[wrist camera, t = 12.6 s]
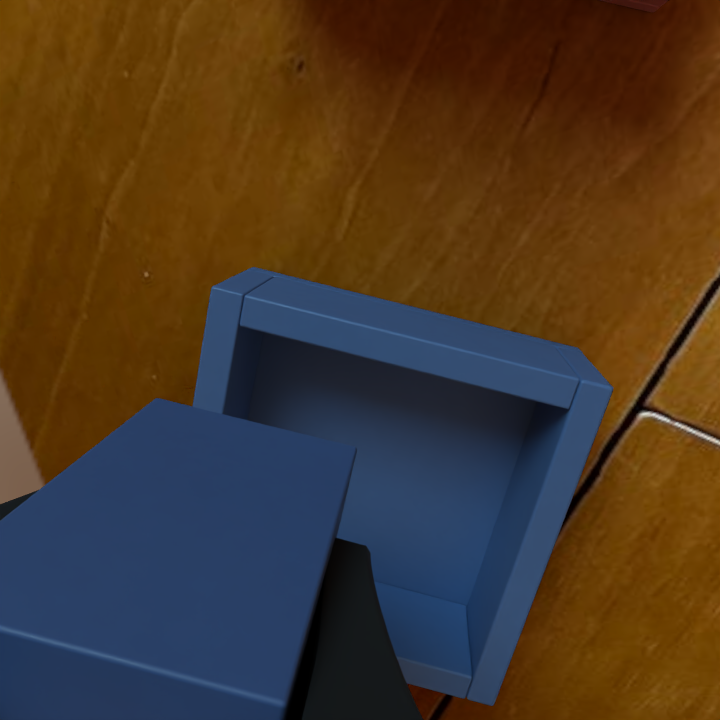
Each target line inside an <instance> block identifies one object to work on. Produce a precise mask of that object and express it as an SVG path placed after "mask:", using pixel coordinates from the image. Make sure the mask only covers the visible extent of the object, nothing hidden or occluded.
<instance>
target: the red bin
mask: <svg viewBox="0 0 720 720" xmlns="http://www.w3.org/2000/svg"><path fill="white" fill-rule="evenodd" d="M600 1H604V2H608V3H613V4H617V5H622V6H626V7H630V8H635V9H639V10H644V11H648V12H655V11H656V10H658V9H659V8H660V7H661V6H662V5H663V4H665V3H666V2H667V1H669V0H600Z"/></svg>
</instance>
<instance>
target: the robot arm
mask: <svg viewBox="0 0 720 720" xmlns="http://www.w3.org/2000/svg"><path fill="white" fill-rule="evenodd" d="M36 492H37V491H35V492H32V493H30V494H27V495H24V496H22V497H19V498H16V499H14V500H11V501H8V502H5V503H3V504H0V520H2V519H3V518H4V517H5V516H7V515H8V514H9V513H10V512H12V511H13V510H14V509H16V508H17V507H18V506H19V505H21V504H22V503H23V502H24V501H26V500H27V499H28V498H30V497H31V496H32V495H33V494H35V493H36ZM291 720H423V718H422V716H421V714H420V712H419V710H418V708H417V706H416V704H415V701H414V699H413V697H412V695H411V692H410V690H409V688H408V685H407V683H406V680H405V678H404V675H403V673H402V670H401V668H400V665H399V662H398V660H397V657H396V655H395V652H394V649H393V646H392V643H391V640H390V637H389V634H388V631H387V627H386V624H385V621H384V618H383V614H382V611H381V607H380V604H379V600H378V596H377V591H376V587H375V583H374V578H373V572H372V565H371V553H370V551H369V550H368V548H367V546H366V545H362V544H358V543H354V542H350V541H347V540H343V539H339V538H335V541H334V544H333V548H332V551H331V555H330V558H329V562H328V565H327V569H326V572H325V576H324V581H323V585H322V589H321V593H320V598H319V602H318V606H317V610H316V614H315V619H314V623H313V627H312V631H311V635H310V640H309V644H308V648H307V652H306V656H305V661H304V665H303V669H302V673H301V678H300V682H299V686H298V690H297V694H296V699H295V703H294V707H293V711H292V715H291Z"/></svg>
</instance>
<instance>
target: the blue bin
mask: <svg viewBox="0 0 720 720" xmlns="http://www.w3.org/2000/svg"><path fill="white" fill-rule="evenodd" d="M612 392H613V387H612V386H611V385H610V384H609V382H608V381H607V380H606V379H605V378H604V377H603V376H602V375H601V373H600V372H599V371H598V370H597V369H596V368H595V367H594V366H593V365H592V363H591V362H590V361H589V360H588V359H587V358H586V357H585V356H584V354H583V353H582V351H581V350H580V349H579V348H576V347H572V346H568V345H564V344H560V343H556V342H552V341H548V340H544V339H540V338H536V337H532V336H528V335H524V334H520V333H516V332H512V331H508V330H504V329H500V328H496V327H492V326H488V325H484V324H480V323H476V322H472V321H468V320H464V319H460V318H456V317H452V316H448V315H444V314H440V313H436V312H432V311H428V310H424V309H420V308H416V307H412V306H408V305H404V304H400V303H396V302H392V301H388V300H384V299H380V298H376V297H372V296H368V295H364V294H360V293H355V292H351V291H347V290H343V289H339V288H335V287H331V286H327V285H323V284H319V283H315V282H311V281H307V280H303V279H299V278H295V277H291V276H287V275H283V274H279V273H275V272H271V271H267V270H263V269H259V268H255V267H252V268H250V269H248V270H246V271H244V272H241V273H239V274H237V275H235V276H233V277H231V278H229V279H227V280H225V281H223V282H221V283H219V284H217V285H215V286H213V287H212V288H211V294H210V300H209V306H208V313H207V319H206V325H205V332H204V338H203V344H202V351H201V357H200V363H199V370H198V376H197V382H196V389H195V395H194V401H193V407H196V408H200V409H204V410H208V411H212V412H216V413H220V414H224V415H228V416H232V417H236V418H240V419H244V420H248V421H252V422H256V423H260V424H264V425H268V426H273V427H277V428H281V429H285V430H289V431H293V432H297V433H301V434H305V435H309V436H313V437H317V438H321V439H325V440H329V441H333V442H337V443H341V444H345V445H349V446H353V447H356V448H357V454H356V458H355V462H354V466H353V471H352V475H351V479H350V483H349V488H348V492H347V496H346V500H345V505H344V509H343V513H342V517H341V522H340V526H339V530H338V534H337V538H339V539H343V540H347V541H350V542H354V543H358V544H362V545H366V546H367V548H368V550H369V551H370V553H371V565H372V572H373V578H374V583H375V587H376V591H377V596H378V600H379V604H380V607H381V611H382V614H383V618H384V621H385V624H386V627H387V631H388V634H389V637H390V640H391V643H392V646H393V649H394V652H395V655H396V657H397V660H398V662H399V665H400V668H401V670H402V673H403V675H404V678H405V680H406V683H408V684H411V685H415V686H419V687H422V688H426V689H430V690H433V691H437V692H441V693H444V694H448V695H452V696H455V697H459V698H465V697H467V699H468V700H471V701H475V702H478V703H482V704H486V705H489V706H493V705H494V703H495V700H496V698H497V695H498V692H499V690H500V687H501V685H502V682H503V679H504V677H505V674H506V671H507V669H508V666H509V663H510V661H511V658H512V656H513V653H514V650H515V648H516V645H517V642H518V640H519V637H520V634H521V632H522V629H523V627H524V624H525V621H526V619H527V616H528V613H529V611H530V608H531V605H532V603H533V600H534V598H535V595H536V592H537V590H538V587H539V584H540V582H541V579H542V576H543V574H544V571H545V569H546V566H547V563H548V561H549V558H550V555H551V553H552V550H553V547H554V545H555V542H556V540H557V537H558V534H559V532H560V529H561V526H562V524H563V521H564V518H565V516H566V513H567V511H568V508H569V505H570V503H571V500H572V497H573V495H574V492H575V489H576V487H577V484H578V482H579V479H580V476H581V474H582V471H583V468H584V466H585V463H586V460H587V458H588V455H589V453H590V450H591V447H592V445H593V442H594V439H595V437H596V434H597V431H598V429H599V426H600V424H601V421H602V418H603V416H604V413H605V410H606V408H607V405H608V402H609V400H610V397H611V395H612Z"/></svg>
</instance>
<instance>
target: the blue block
mask: <svg viewBox="0 0 720 720" xmlns="http://www.w3.org/2000/svg"><path fill="white" fill-rule="evenodd" d="M356 454H357V448H356V447H353V446H349V445H345V444H341V443H337V442H333V441H329V440H325V439H321V438H317V437H313V436H309V435H305V434H301V433H297V432H293V431H289V430H285V429H281V428H277V427H273V426H268V425H264V424H260V423H256V422H252V421H248V420H244V419H240V418H236V417H232V416H228V415H224V414H220V413H216V412H212V411H208V410H204V409H200V408H196V407H192V406H188V405H184V404H180V403H176V402H172V401H167V400H163V399H159V398H156V399H154V400H153V401H152V402H151V403H149V404H148V405H147V406H145V407H144V408H143V409H142V410H140V411H139V412H138V413H137V414H135V415H134V416H133V417H131V418H130V419H129V420H128V421H126V422H125V423H124V424H123V425H121V426H120V427H119V428H117V429H116V430H115V431H114V432H112V433H111V434H110V435H109V436H107V437H106V438H105V439H103V440H102V441H101V442H100V443H98V444H97V445H96V446H95V447H93V448H92V449H91V450H89V451H88V452H87V453H86V454H84V455H83V456H82V457H81V458H79V459H78V460H77V461H75V462H74V463H73V464H72V465H70V466H69V467H68V468H67V469H65V470H64V471H63V472H61V473H60V474H59V475H58V476H56V477H55V478H54V479H52V480H51V481H50V482H49V483H47V484H46V485H45V486H44V487H42V488H41V489H40V490H38V491H37V492H36V493H35V494H33V495H32V496H31V497H30V498H28V499H27V500H26V501H24V502H23V503H22V504H21V505H19V506H18V507H17V508H16V509H14V510H13V511H12V512H10V513H9V514H8V515H7V516H5V517H4V518H3V519H2V520H0V720H291V715H292V711H293V707H294V703H295V699H296V694H297V690H298V686H299V682H300V678H301V673H302V669H303V665H304V661H305V656H306V652H307V648H308V644H309V640H310V635H311V631H312V627H313V623H314V619H315V614H316V610H317V606H318V602H319V598H320V593H321V589H322V585H323V581H324V576H325V572H326V569H327V565H328V562H329V558H330V555H331V551H332V548H333V544H334V541H335V538H337V534H338V530H339V526H340V522H341V517H342V513H343V509H344V505H345V500H346V496H347V492H348V488H349V483H350V479H351V475H352V471H353V466H354V462H355V458H356Z"/></svg>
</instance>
